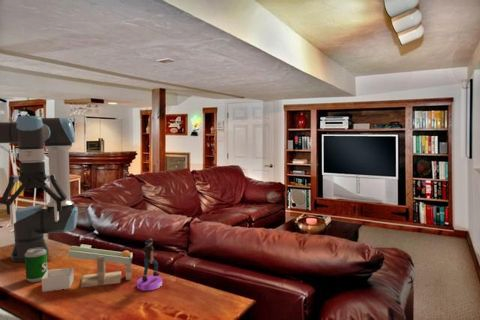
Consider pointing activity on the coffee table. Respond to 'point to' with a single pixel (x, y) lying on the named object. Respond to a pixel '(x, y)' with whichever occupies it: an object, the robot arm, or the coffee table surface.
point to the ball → (125, 254)
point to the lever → (98, 254)
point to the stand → (104, 275)
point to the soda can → (35, 264)
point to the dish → (57, 279)
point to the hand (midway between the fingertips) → (35, 222)
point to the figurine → (150, 280)
